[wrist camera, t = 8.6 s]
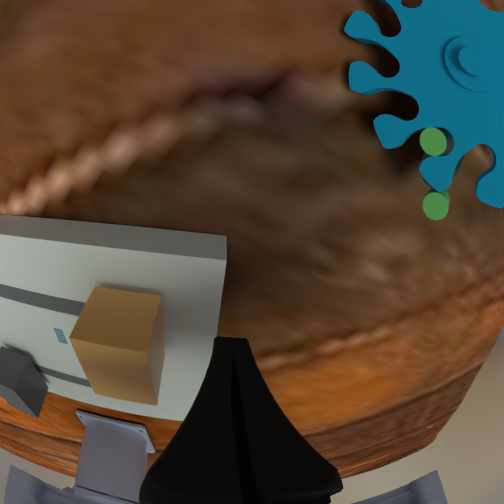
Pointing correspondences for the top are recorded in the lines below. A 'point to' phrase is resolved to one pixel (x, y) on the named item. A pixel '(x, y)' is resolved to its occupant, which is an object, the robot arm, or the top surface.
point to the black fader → (21, 382)
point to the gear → (442, 89)
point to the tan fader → (121, 344)
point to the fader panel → (114, 277)
